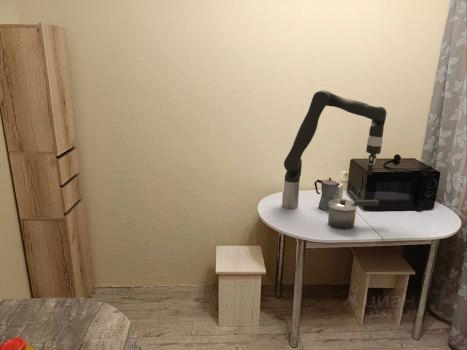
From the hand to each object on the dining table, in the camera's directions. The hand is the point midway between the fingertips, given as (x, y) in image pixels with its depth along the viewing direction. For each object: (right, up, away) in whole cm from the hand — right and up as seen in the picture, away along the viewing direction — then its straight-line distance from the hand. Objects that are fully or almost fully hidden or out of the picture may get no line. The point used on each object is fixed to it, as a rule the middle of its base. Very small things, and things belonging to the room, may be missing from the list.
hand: (370, 172), depth 208 cm
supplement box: (-10, -19, +36) cm, 42 cm away
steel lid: (-9, -18, +1) cm, 21 cm away
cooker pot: (-15, -29, +4) cm, 33 cm away
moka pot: (-18, -22, +27) cm, 39 cm away
